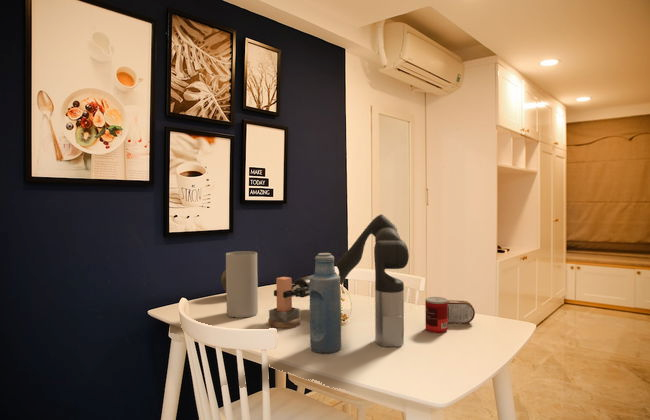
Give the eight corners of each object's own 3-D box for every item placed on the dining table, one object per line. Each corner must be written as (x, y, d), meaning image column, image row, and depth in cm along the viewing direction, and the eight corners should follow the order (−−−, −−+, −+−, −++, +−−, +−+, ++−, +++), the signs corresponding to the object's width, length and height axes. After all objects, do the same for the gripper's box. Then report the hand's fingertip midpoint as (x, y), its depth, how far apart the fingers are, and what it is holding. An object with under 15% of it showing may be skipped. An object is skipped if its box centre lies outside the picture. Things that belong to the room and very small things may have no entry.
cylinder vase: (235, 320, 164) (234, 256, 163) (221, 313, 173) (220, 253, 173) (263, 314, 172) (262, 253, 171) (248, 308, 181) (247, 250, 180)
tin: (473, 322, 159) (473, 300, 159) (475, 324, 156) (475, 302, 156) (433, 321, 161) (433, 299, 161) (434, 323, 158) (434, 301, 157)
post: (291, 314, 159) (291, 277, 158) (284, 317, 156) (284, 279, 155) (283, 313, 161) (283, 276, 161) (276, 315, 158) (276, 278, 158)
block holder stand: (306, 322, 160) (306, 308, 160) (286, 330, 150) (286, 315, 150) (282, 317, 167) (282, 303, 167) (261, 325, 157) (261, 310, 157)
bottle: (347, 348, 132) (347, 253, 131) (325, 356, 125) (324, 256, 125) (326, 341, 139) (325, 250, 138) (303, 348, 132) (303, 253, 131)
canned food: (447, 327, 153) (447, 297, 153) (447, 334, 145) (447, 302, 145) (425, 325, 155) (425, 296, 155) (425, 332, 147) (425, 301, 147)
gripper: (293, 275, 174) (264, 282, 160) (321, 278, 166) (293, 286, 152) (294, 293, 174) (265, 301, 160) (322, 297, 166) (294, 307, 152)
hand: (279, 294), depth 156 cm, fingers closed on post, 4 cm apart
